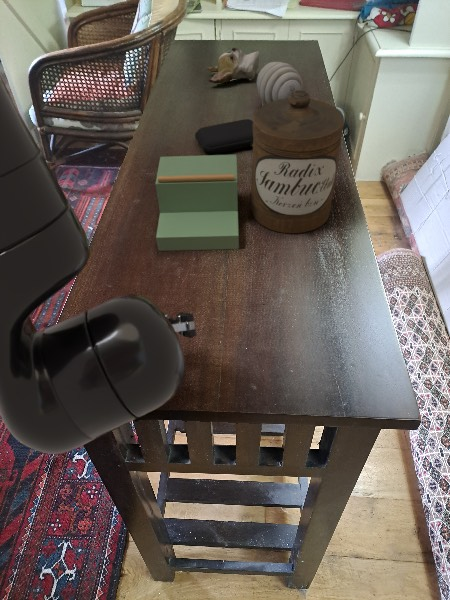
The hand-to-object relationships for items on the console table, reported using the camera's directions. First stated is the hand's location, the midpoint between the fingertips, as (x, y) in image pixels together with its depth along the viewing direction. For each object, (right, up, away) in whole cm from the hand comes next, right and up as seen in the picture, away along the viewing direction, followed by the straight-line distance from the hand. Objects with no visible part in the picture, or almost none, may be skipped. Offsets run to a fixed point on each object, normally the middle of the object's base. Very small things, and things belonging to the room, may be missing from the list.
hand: (140, 327), depth 60 cm
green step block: (+6, +17, +24) cm, 31 cm away
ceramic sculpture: (+13, +65, +70) cm, 96 cm away
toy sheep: (+24, +51, +56) cm, 79 cm away
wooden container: (+23, +20, +27) cm, 41 cm away
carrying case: (+12, +39, +45) cm, 61 cm away
